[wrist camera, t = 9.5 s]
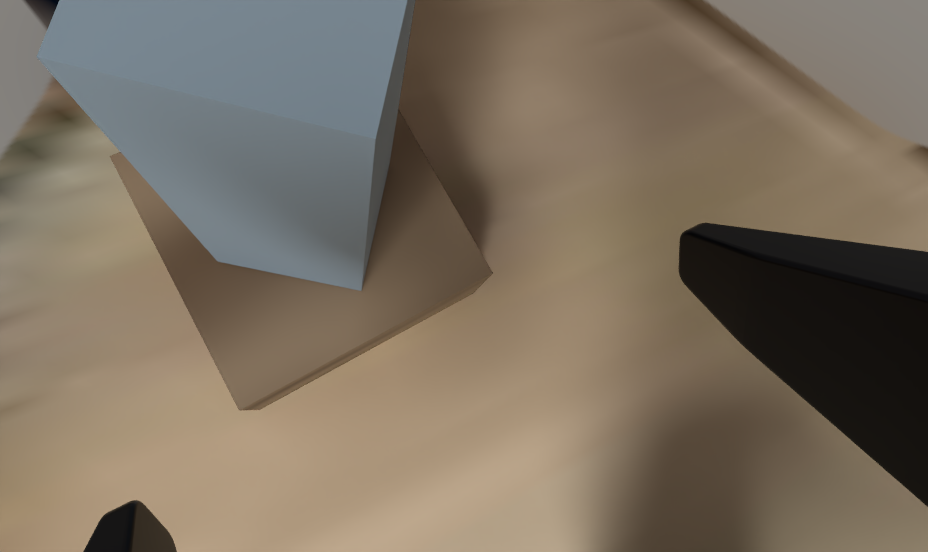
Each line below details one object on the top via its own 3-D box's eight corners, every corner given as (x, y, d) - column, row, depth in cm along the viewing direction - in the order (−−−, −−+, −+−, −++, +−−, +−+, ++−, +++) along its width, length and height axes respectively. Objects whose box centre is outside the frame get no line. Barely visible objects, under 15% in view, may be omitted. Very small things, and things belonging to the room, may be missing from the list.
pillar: (389, 164, 20) (432, -111, 9) (361, 290, 19) (375, 139, 8) (254, 132, 19) (141, -200, 9) (217, 261, 18) (36, 57, 8)
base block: (471, 295, 24) (493, 273, 20) (261, 409, 21) (238, 410, 18) (365, 108, 25) (365, 53, 21) (152, 199, 22) (109, 156, 19)
